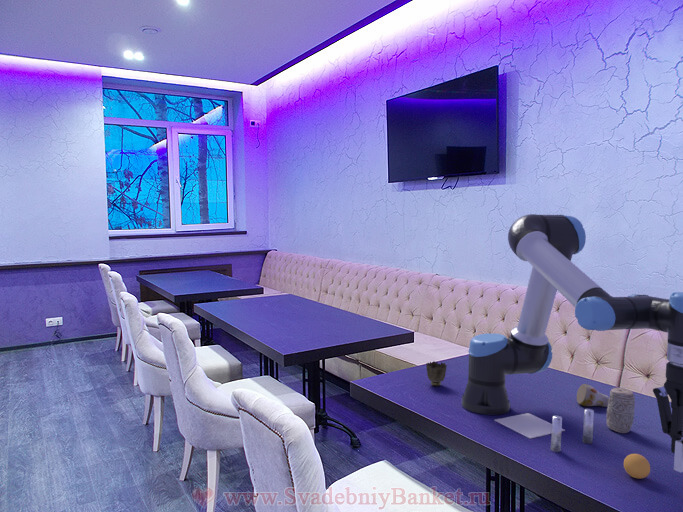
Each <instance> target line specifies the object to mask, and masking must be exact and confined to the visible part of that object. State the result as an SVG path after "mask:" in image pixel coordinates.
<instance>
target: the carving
mask: <svg viewBox="0 0 683 512" xmlns="http://www.w3.org/2000/svg"><path fill="white" fill-rule="evenodd" d="M635 400H636V398H635V394H634V392H633V391H632V390H630V389H628V388H624V387H613V388H611V389H610V391H609V401H608V406H607V407H606V419H605V420H606V421H605V422H606V425H607V428H609V429H610V430H612V431H614V432H617V433H619V434H627V433H629V432H631V429H632V426H633V425H634V420H635V405H636V403H635V402H636V401H635Z"/></svg>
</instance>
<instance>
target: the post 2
mask: <svg viewBox="0 0 683 512" xmlns="http://www.w3.org/2000/svg"><path fill="white" fill-rule="evenodd" d="M583 411H584V412H583V413H584V414H583V425H582V426H583V429H582V443H583V444H585V445H586V444H587V445H593V440H594V439H593V438H594V437H593V435H594V422H595V421H594V419H595V410H594V409H591V408H585V409H584V410H583Z"/></svg>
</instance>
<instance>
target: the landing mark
mask: <svg viewBox="0 0 683 512" xmlns="http://www.w3.org/2000/svg"><path fill="white" fill-rule="evenodd" d="M494 422H497V423H498V424H500V425H503V426H504V427H507V428H508V429H510V430H511V431H514V432H515V433H518V434H520V435H522V436H523V437H526V438H528V439H530V440H531V439H534V438H538V437H543V436H548V435H551V433H552V422H551V423H550V422H548V421H547V420H545V419H542V418H540V417H538V416H536V415H534V414H531V413H529V412H526V413H521V414H516V415H510V416H507V417H506V416H505V417H502V418H495V419H494ZM565 431H566V429H563V428H562V432H565Z"/></svg>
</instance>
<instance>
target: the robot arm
mask: <svg viewBox="0 0 683 512" xmlns="http://www.w3.org/2000/svg"><path fill="white" fill-rule="evenodd" d="M583 225H584V224H582V222H581V221H580V220H579V219H578V218H576V217H574V216H571V215H564V214H535V213H533V214H531V213H530V214H526V215H522V216H520V217H518V218H517V219H516V220H515V221H513V223H512V224H511V226H510V228H509V229H508V233H507V241H508V245H509V247H510V249H511V250H512V252H513V254H514V255H515V256H516V257H518V259H519V260H521V261H523V262H528V263H529V264H530V266H532V268H531V271H530V277H529V280H528V284H527V288H526V292H525V295H524V300H523V305H522V307H521V311H520V316H519V319H518V324H517V325H516V326H515V327H513V328H512V329H511V331H510V334H509V335H510V336H509V338H507V336H506V335H504V334H501V333H481V334H478V335H475V336H473V337H472V338H471V339H470V341H469V347H468V370H467V371H468V375H467V376H468V377H467V384H466V387H465V390H464V393H463V394H462V396H461V406H462V407H463V408H464V409H466V410H467V411H470V412H473V413H476V414H479V415H487V416H488V415H489V416H498V415H499V416H500V415H505V414H507V413H509V412H510V408H511V402H510V399H509V395H508V392H507V391H508V390H507V388H506V376H507V375H508V376H509V375H521V374H529V375H531V374H536V373H541V372H544V371H546V370H547V369H548V368H549V366H550V365H551V363H552V360H553V352H552V350H553V348H552V344H551V343H550V341H549V337H548V336H547V334H546V331H547V329H548V324H549V320H550V318H551V313H552V310H553V306H554V302H555V299H556V295H557V291H558V292H559V293H560V294H561V295H562V297H564V298H565V299H566V300H567V301H568V302H569V303H570V304H571V305H572V306H573V307H574V308H575V309H574V316H575V318H576V320H577V323H578V325H579V326H580V327H581V328H583V329H584V330H587V331H597V332H605V331H615V330H617V331H619V330H640V329H642V330H645V329H647V330H655V331H660V332H663V333H667V343H666V344H667V348H666V359H667V361H668V362H666V363H665V364H666V365H665V379H666V380H665V382H664V383H663V386H659V387H654V388H653V389H652V392H653V395H654V396H655V399H656V401H657V409H658V414H659V417H660V423H661V430H662V432H663V433H664V434H665V435H666V434H667V435H668V436H669V437H670V438H671V445H670V451H671V453H672V454H674V457H673V471H676V472H678V473H683V291H674V292H672V293H670V295H669V299H668V298H663V297H657V296H649V294H648V295H647V294H634V293H633V294H630V295H628V296H612V295H611V294H609V293H608V292H607V291H606V290H604V289H603V288H602V287H601V286H599V284H597V282H595V281H594V280H593V279H592V278H590V276H588V275H587V274H586V273H585V272H583V271H582V270H581V269H580V268H579V267H578V266H576V264H574V263H573V262H572V257H573V255H576V254H577V255H578V254H579V253H580V252H582V251H583V249H584V248H585V244H586V237H587V236H586V230H585V228H584V226H583Z"/></svg>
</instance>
